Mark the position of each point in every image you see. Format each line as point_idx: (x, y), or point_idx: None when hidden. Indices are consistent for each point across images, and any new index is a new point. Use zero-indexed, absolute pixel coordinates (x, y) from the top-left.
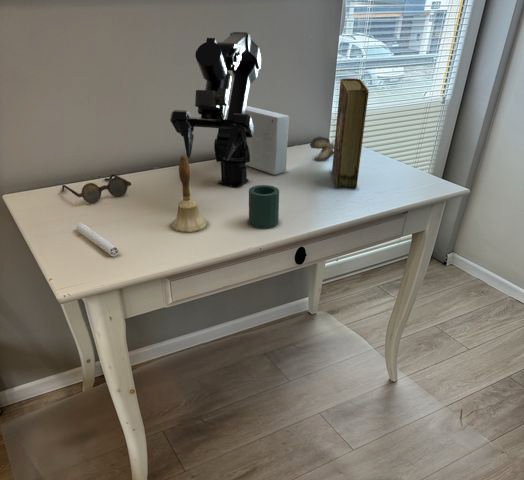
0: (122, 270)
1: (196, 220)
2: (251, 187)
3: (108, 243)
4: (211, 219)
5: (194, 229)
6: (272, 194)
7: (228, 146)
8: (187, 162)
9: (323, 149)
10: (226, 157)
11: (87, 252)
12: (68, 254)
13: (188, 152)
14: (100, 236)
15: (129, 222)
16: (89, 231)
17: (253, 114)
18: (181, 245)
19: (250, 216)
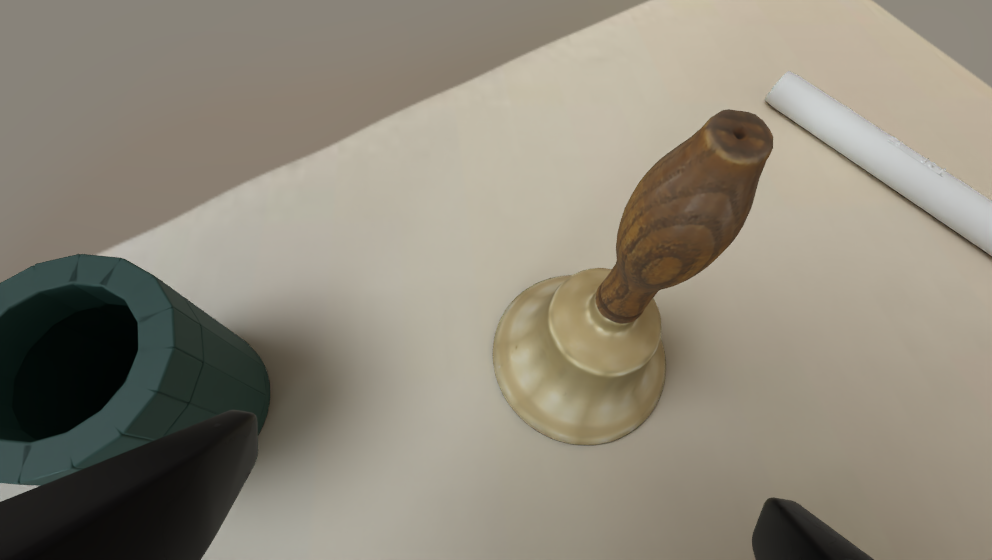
0: (701, 31)
1: (537, 303)
2: (137, 413)
3: (820, 96)
4: (476, 439)
5: (539, 283)
6: (17, 277)
7: (98, 495)
8: (671, 160)
9: None
10: (233, 410)
11: (874, 121)
12: (925, 108)
13: (797, 523)
14: (885, 146)
15: (879, 377)
16: (957, 180)
17: None
18: (566, 173)
19: (246, 354)
